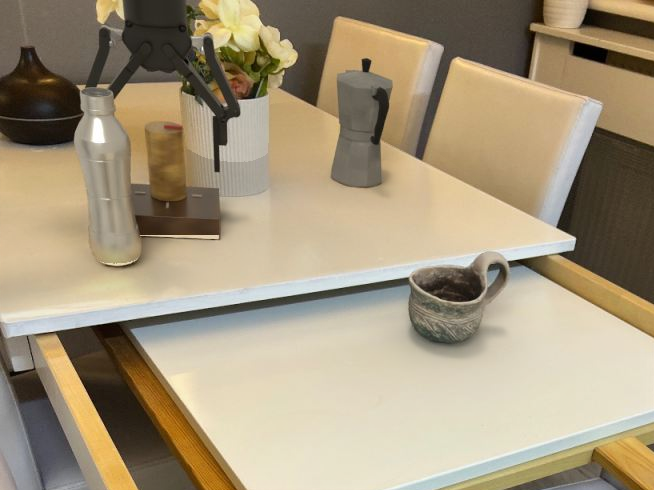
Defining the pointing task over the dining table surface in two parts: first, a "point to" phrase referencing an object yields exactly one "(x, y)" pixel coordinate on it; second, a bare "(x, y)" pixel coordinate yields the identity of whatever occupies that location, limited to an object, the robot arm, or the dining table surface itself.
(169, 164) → the candle
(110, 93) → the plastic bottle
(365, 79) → the coffeepot
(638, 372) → the dining table surface
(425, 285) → the mug
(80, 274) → the dining table surface
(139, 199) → the dark brown flat block
